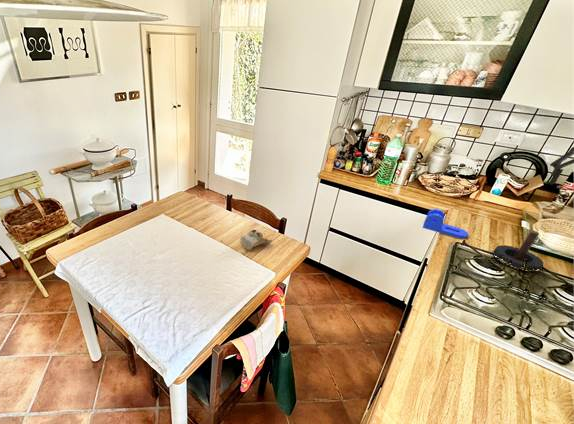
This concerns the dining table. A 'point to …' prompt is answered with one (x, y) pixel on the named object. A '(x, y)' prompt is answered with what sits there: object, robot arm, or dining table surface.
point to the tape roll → (532, 260)
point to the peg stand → (525, 245)
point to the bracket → (442, 225)
